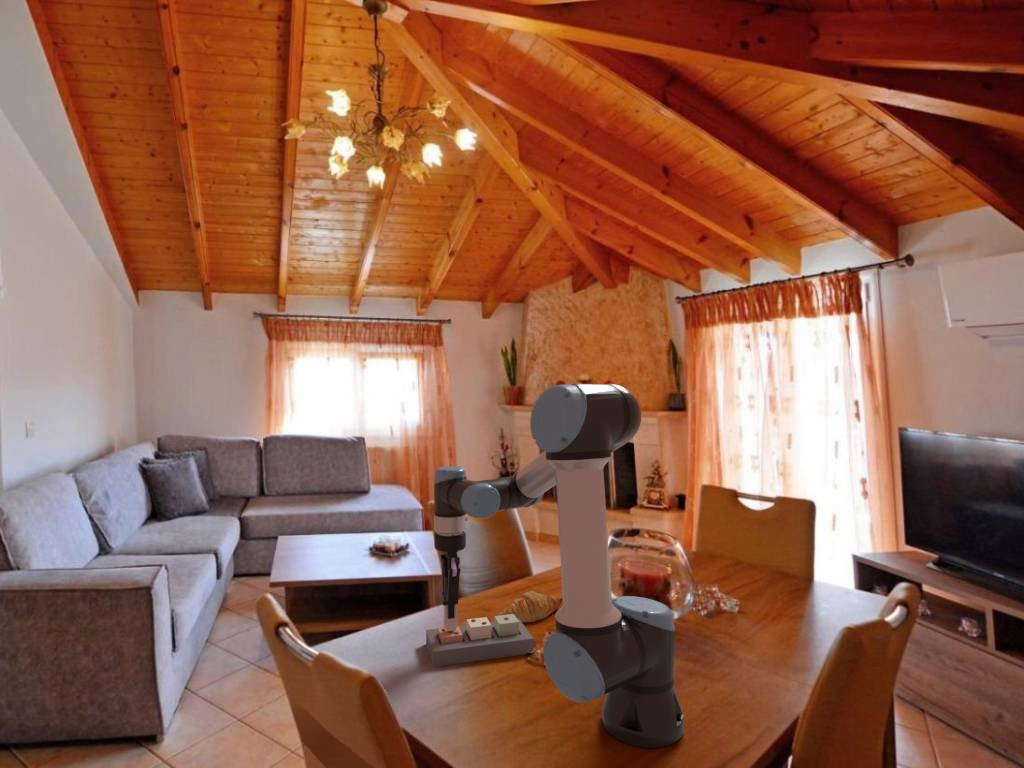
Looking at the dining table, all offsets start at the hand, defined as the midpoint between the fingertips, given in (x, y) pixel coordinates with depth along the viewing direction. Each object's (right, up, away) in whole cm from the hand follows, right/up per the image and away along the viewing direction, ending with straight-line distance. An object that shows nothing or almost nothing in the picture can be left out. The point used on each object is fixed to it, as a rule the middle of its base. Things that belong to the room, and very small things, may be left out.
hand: (450, 629), depth 140 cm
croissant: (+20, -6, +22) cm, 30 cm away
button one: (+14, -2, +4) cm, 14 cm away
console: (+7, -5, +2) cm, 9 cm away
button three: (0, -4, 0) cm, 4 cm away
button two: (+7, -2, +2) cm, 7 cm away
